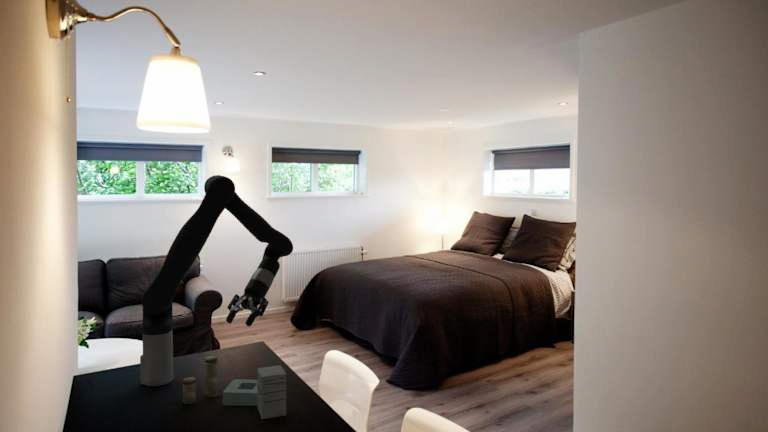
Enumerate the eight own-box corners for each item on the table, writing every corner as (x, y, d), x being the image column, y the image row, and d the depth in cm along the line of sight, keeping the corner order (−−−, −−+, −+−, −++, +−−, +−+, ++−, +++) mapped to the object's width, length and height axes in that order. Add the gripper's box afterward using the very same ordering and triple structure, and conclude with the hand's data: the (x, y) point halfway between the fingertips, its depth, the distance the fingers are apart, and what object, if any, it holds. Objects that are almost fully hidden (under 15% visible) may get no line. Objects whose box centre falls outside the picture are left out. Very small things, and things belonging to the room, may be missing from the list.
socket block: (222, 405, 146) (222, 392, 146) (233, 391, 156) (233, 379, 156) (261, 405, 146) (261, 393, 146) (270, 392, 156) (270, 380, 156)
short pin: (180, 404, 147) (180, 381, 146) (186, 398, 151) (185, 377, 150) (192, 404, 147) (192, 381, 146) (197, 399, 151) (197, 377, 150)
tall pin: (203, 397, 152) (203, 360, 151) (208, 392, 155) (207, 355, 155) (215, 397, 152) (214, 360, 151) (219, 392, 155) (219, 356, 155)
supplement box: (256, 409, 144) (256, 367, 143) (281, 405, 147) (281, 364, 146) (260, 420, 137) (260, 376, 137) (286, 415, 140) (286, 373, 140)
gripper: (239, 276, 173) (215, 315, 164) (270, 279, 167) (248, 320, 157) (249, 288, 178) (227, 326, 169) (280, 291, 172) (259, 332, 162)
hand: (237, 323), depth 163 cm, fingers open, 8 cm apart
